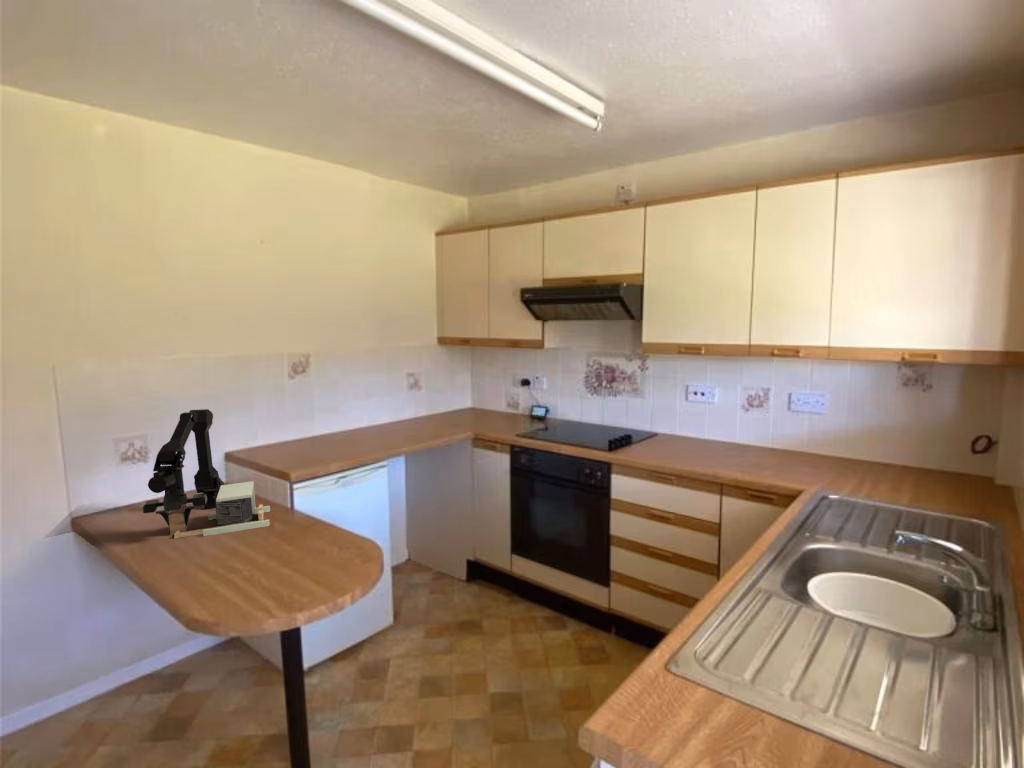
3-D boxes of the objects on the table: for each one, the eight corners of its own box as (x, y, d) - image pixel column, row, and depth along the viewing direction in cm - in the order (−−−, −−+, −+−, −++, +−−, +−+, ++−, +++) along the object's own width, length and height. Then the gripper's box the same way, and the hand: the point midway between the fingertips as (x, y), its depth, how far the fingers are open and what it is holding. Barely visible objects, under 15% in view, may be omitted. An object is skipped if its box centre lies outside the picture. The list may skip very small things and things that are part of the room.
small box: (254, 520, 203) (251, 492, 202) (244, 526, 197) (241, 498, 196) (227, 519, 204) (224, 492, 203) (216, 526, 198) (213, 498, 197)
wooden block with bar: (174, 527, 198) (172, 508, 197) (263, 514, 209) (262, 496, 208) (168, 539, 187) (166, 519, 186) (262, 524, 199) (261, 505, 198)
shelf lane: (209, 519, 205) (205, 487, 203) (270, 510, 213) (267, 479, 211) (203, 536, 189) (199, 501, 188) (269, 525, 197) (266, 492, 196)
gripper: (136, 494, 180) (142, 539, 182) (201, 486, 188) (205, 529, 190) (144, 485, 191) (149, 527, 193) (205, 477, 198) (209, 519, 200)
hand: (178, 526), depth 193 cm, fingers closed on wooden block with bar, 4 cm apart
